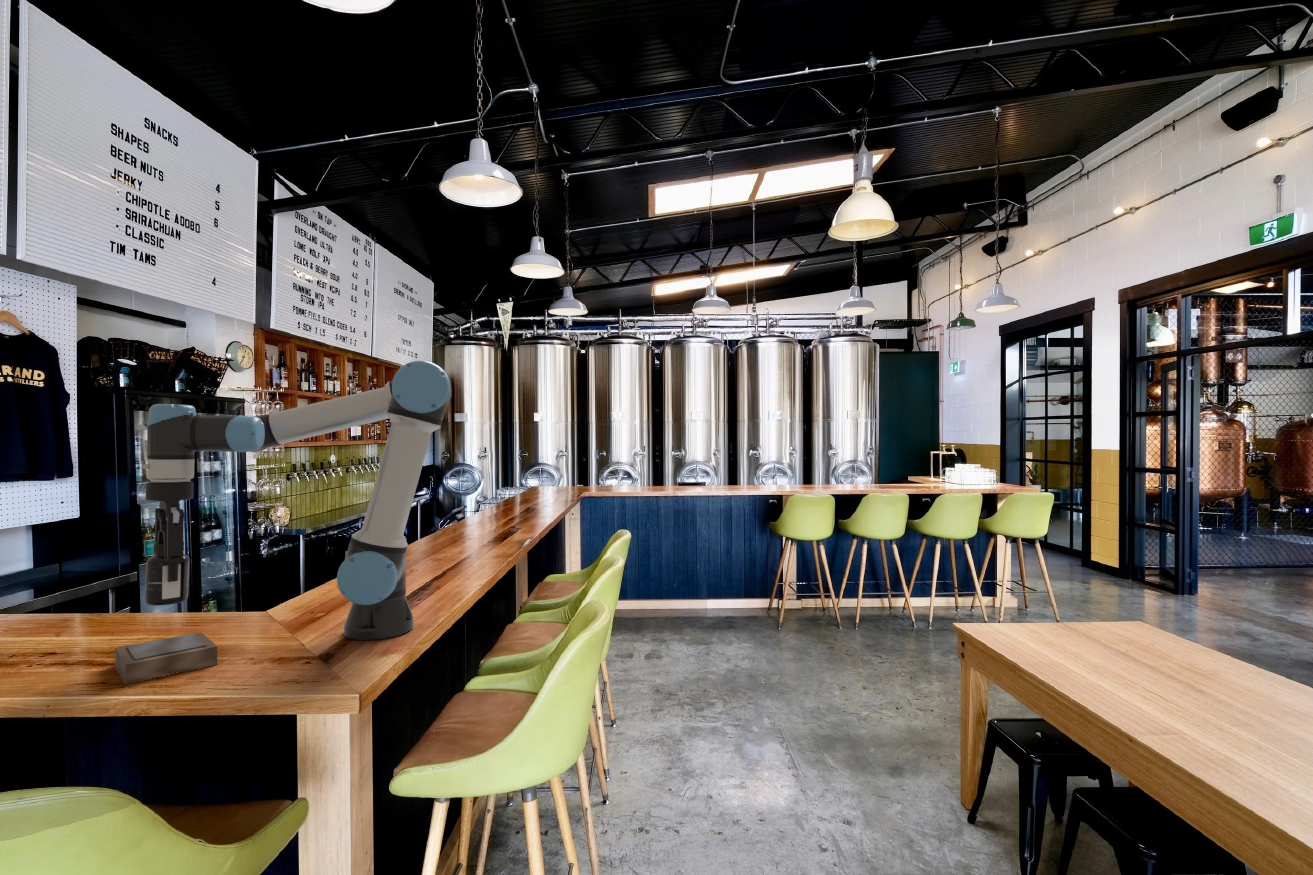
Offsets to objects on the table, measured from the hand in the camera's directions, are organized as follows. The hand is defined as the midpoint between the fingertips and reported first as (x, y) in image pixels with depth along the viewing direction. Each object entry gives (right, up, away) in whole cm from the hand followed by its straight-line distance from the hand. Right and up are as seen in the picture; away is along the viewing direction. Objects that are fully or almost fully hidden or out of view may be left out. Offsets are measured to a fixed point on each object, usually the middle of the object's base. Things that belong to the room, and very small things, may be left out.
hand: (167, 594), depth 121 cm
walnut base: (0, -14, 0) cm, 14 cm away
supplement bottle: (0, -2, 0) cm, 2 cm away
